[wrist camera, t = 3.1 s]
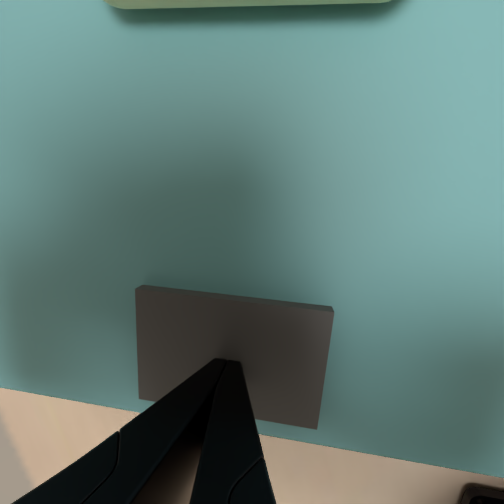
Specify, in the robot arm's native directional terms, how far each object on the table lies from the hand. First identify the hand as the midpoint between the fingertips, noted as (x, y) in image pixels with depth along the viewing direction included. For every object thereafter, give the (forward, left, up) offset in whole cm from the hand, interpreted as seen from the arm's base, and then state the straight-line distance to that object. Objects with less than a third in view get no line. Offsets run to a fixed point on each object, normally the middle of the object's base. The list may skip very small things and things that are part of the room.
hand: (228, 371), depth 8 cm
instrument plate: (0, -6, -2) cm, 6 cm away
